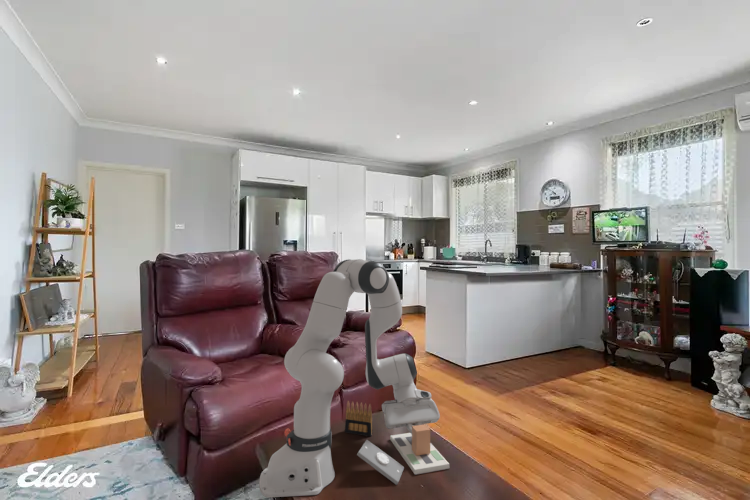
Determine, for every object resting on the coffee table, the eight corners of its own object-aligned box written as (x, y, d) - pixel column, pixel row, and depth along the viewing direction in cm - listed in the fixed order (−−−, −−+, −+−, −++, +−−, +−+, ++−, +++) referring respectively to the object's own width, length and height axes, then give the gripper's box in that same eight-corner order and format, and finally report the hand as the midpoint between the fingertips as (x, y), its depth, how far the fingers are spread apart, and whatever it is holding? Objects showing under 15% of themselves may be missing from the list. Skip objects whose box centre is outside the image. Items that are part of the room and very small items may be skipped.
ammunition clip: (372, 434, 144) (373, 402, 144) (371, 436, 142) (371, 404, 142) (346, 430, 147) (346, 399, 147) (344, 432, 145) (345, 401, 145)
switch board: (414, 474, 118) (414, 469, 118) (390, 439, 140) (390, 435, 140) (449, 468, 121) (449, 463, 121) (420, 435, 143) (420, 430, 143)
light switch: (399, 480, 112) (359, 449, 116) (390, 495, 113) (350, 465, 117) (405, 464, 120) (368, 436, 124) (397, 479, 121) (359, 451, 125)
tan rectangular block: (416, 455, 126) (416, 431, 126) (411, 449, 129) (411, 426, 129) (430, 453, 127) (430, 429, 127) (425, 447, 131) (425, 424, 131)
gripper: (382, 397, 135) (391, 438, 125) (434, 392, 141) (446, 430, 132) (378, 405, 139) (386, 445, 130) (429, 399, 145) (440, 437, 136)
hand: (417, 437), depth 131 cm, fingers closed, pressing on tan rectangular block
